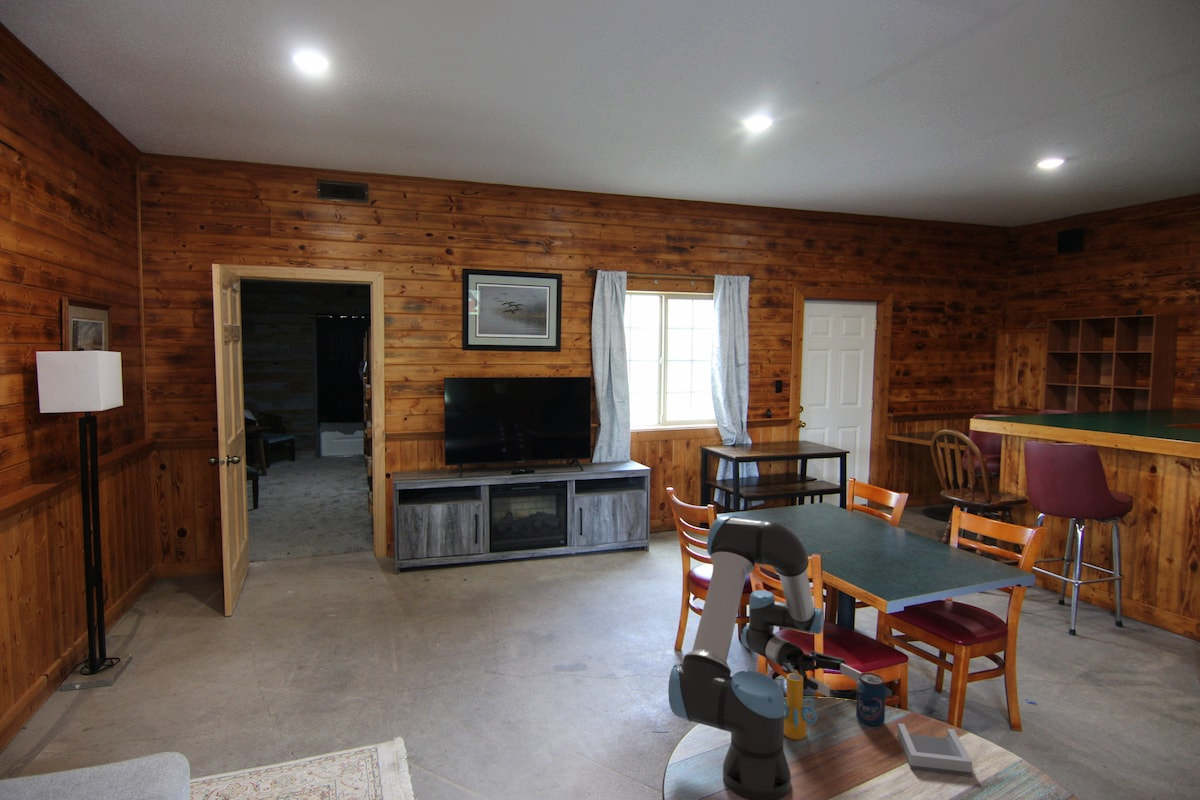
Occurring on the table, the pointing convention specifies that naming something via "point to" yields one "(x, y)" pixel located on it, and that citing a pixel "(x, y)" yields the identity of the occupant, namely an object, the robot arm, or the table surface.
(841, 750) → the table surface
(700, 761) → the table surface
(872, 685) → the soda can
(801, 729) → the yellow hollow tube
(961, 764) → the dock
